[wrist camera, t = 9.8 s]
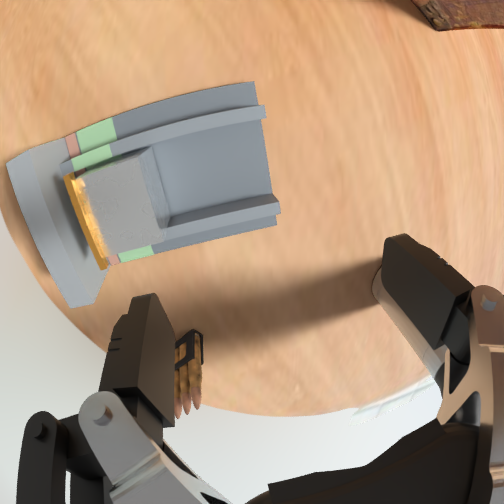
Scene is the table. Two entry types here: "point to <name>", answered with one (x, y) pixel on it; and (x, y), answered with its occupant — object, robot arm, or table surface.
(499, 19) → the book
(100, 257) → the plunger
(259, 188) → the base
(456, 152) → the table surface
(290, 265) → the table surface
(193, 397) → the ammunition clip
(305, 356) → the table surface
